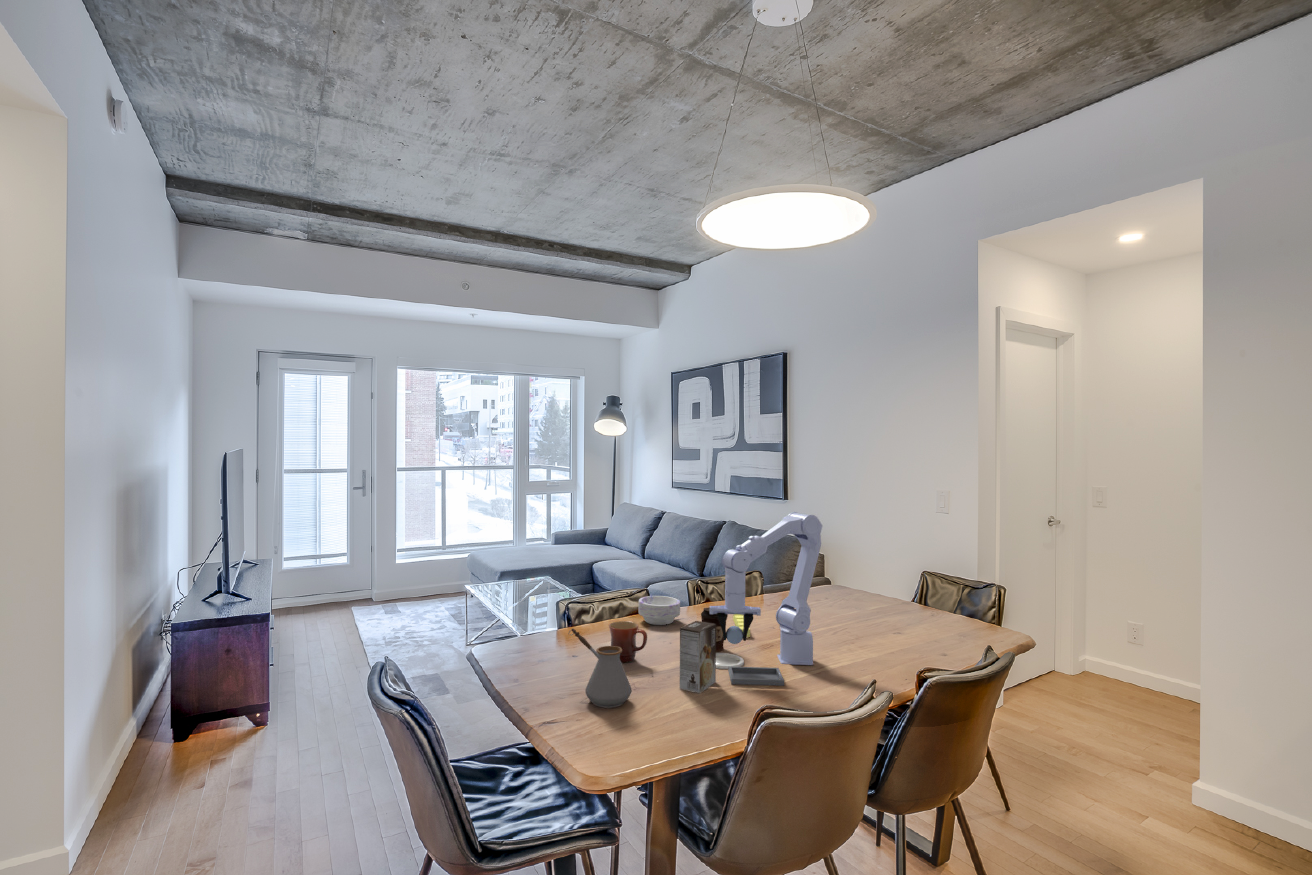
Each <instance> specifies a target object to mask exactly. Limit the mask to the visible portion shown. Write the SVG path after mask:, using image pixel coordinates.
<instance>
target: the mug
mask: <svg viewBox="0 0 1312 875" xmlns="http://www.w3.org/2000/svg"><path fill="white" fill-rule="evenodd" d="M608 628H609V632H610V646H617V647H621V649H622V652H621V653H620V657H619V658H620V661H621V663H622V664H625V663H626V664H627V663H631V662H633V661H634V660H635V659H636V653H637V652H639V651H642V650H643V649H644V648H645V647H646V645H647V642H648V633H647V631H646V630H644V629H639V624H638V623H636V622H632V621H627V620H626V621H623V620H622V621H615V622H611V623H609V624H608ZM637 634H642V637H643V638H642V644H641V645H640V646H637V643H636V642H637V640H636V639H637V638H636V637H637Z"/></svg>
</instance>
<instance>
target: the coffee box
mask: <svg viewBox="0 0 1312 875" xmlns="http://www.w3.org/2000/svg"><path fill="white" fill-rule="evenodd" d="M716 653H717V652H716V624H713V623H707V622H702V620H701V621H700V620H695V621H692V622H690V623H689V624H686V625H683V626H681V627H680V628H679V689H680V690H684V691H689V692H692V693H696V694H701V693H702V692H704V691H705V690H707V689H709V688H710V687H711V686H712V685H713V684H716V676H717V675H716V674H717V668H716Z"/></svg>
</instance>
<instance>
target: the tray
mask: <svg viewBox="0 0 1312 875" xmlns="http://www.w3.org/2000/svg"><path fill="white" fill-rule="evenodd" d="M727 671H728V676H729V680H730V684H731V685H738V686H739V685H741V686H772V687H773V686H774V687H775V686H776V687H785V678H784V677H783V675H782V672H781V671H780V668H779V667H767V666H766V667H761V666H759V667H758V666H741V667H733V666H728V669H727Z"/></svg>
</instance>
